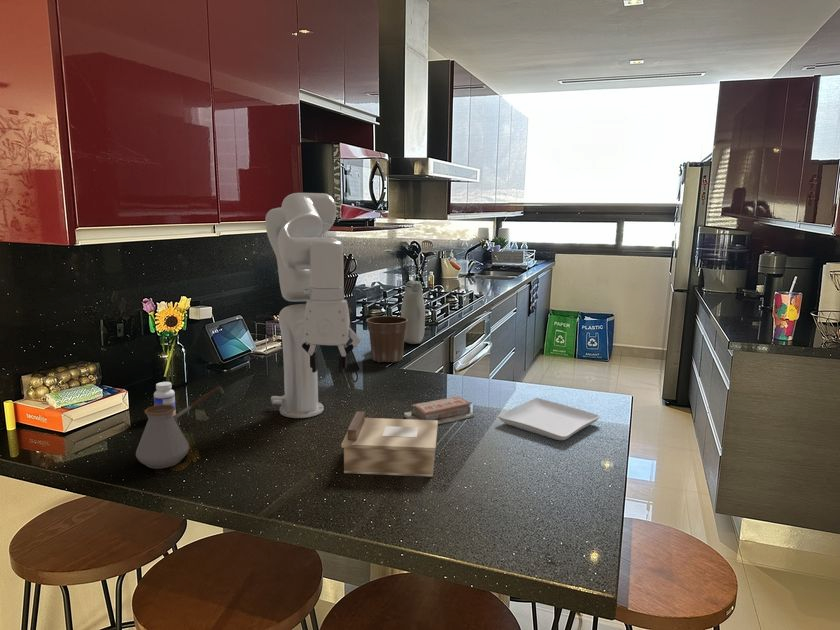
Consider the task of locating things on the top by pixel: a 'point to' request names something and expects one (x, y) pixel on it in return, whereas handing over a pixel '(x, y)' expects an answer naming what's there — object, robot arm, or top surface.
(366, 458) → the mailer box
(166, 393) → the pill bottle
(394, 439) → the lid
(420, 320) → the glass bottle
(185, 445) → the coffee pot
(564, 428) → the salad plate
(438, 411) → the packaged product
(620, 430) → the top surface
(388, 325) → the plant pot
